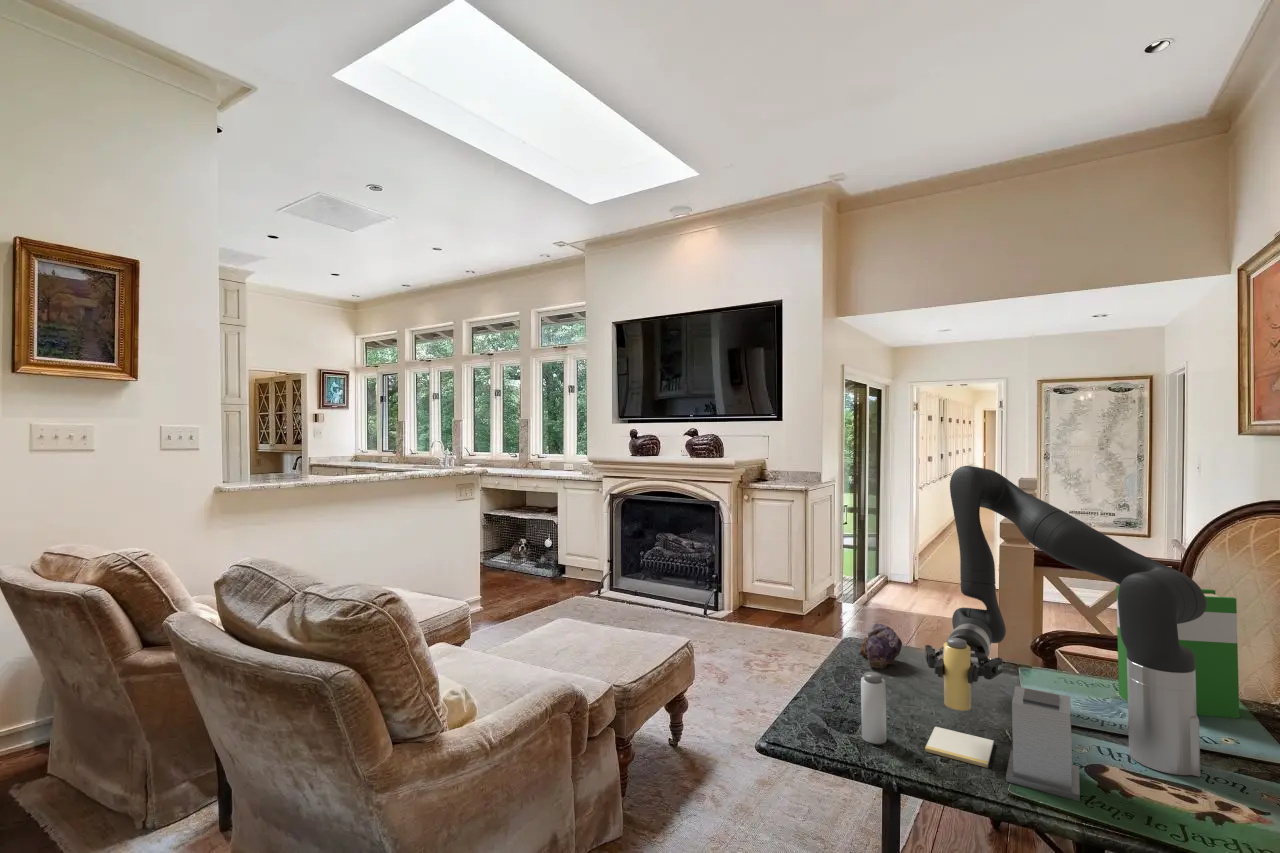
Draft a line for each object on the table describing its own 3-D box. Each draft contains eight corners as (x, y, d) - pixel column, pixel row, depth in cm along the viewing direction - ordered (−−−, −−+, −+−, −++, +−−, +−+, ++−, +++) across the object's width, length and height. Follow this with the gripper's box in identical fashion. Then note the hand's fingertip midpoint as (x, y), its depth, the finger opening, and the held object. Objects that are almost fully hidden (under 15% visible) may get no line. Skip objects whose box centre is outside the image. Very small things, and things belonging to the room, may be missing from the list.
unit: (1079, 772, 105) (1077, 693, 105) (1079, 801, 97) (1077, 715, 97) (1010, 755, 111) (1009, 680, 111) (1006, 781, 103) (1004, 700, 103)
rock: (862, 673, 153) (906, 675, 150) (861, 640, 151) (905, 642, 149) (858, 649, 164) (898, 651, 161) (857, 619, 163) (898, 620, 160)
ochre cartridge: (972, 703, 115) (971, 639, 115) (969, 712, 111) (968, 646, 111) (946, 697, 117) (945, 634, 117) (942, 706, 114) (941, 641, 114)
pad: (993, 743, 115) (993, 740, 115) (987, 767, 107) (987, 764, 107) (935, 729, 121) (935, 726, 121) (925, 751, 112) (925, 747, 112)
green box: (1215, 702, 131) (1212, 589, 131) (1239, 718, 124) (1236, 598, 124) (1118, 694, 135) (1116, 585, 136) (1136, 709, 128) (1133, 593, 128)
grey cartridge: (889, 736, 118) (887, 673, 118) (883, 746, 115) (882, 681, 115) (865, 730, 121) (864, 669, 121) (859, 739, 117) (857, 676, 117)
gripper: (929, 622, 130) (912, 646, 116) (1008, 634, 122) (999, 662, 108) (930, 657, 130) (912, 686, 116) (1008, 672, 122) (1000, 705, 108)
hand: (954, 675), depth 112 cm, fingers closed on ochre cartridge, 4 cm apart
